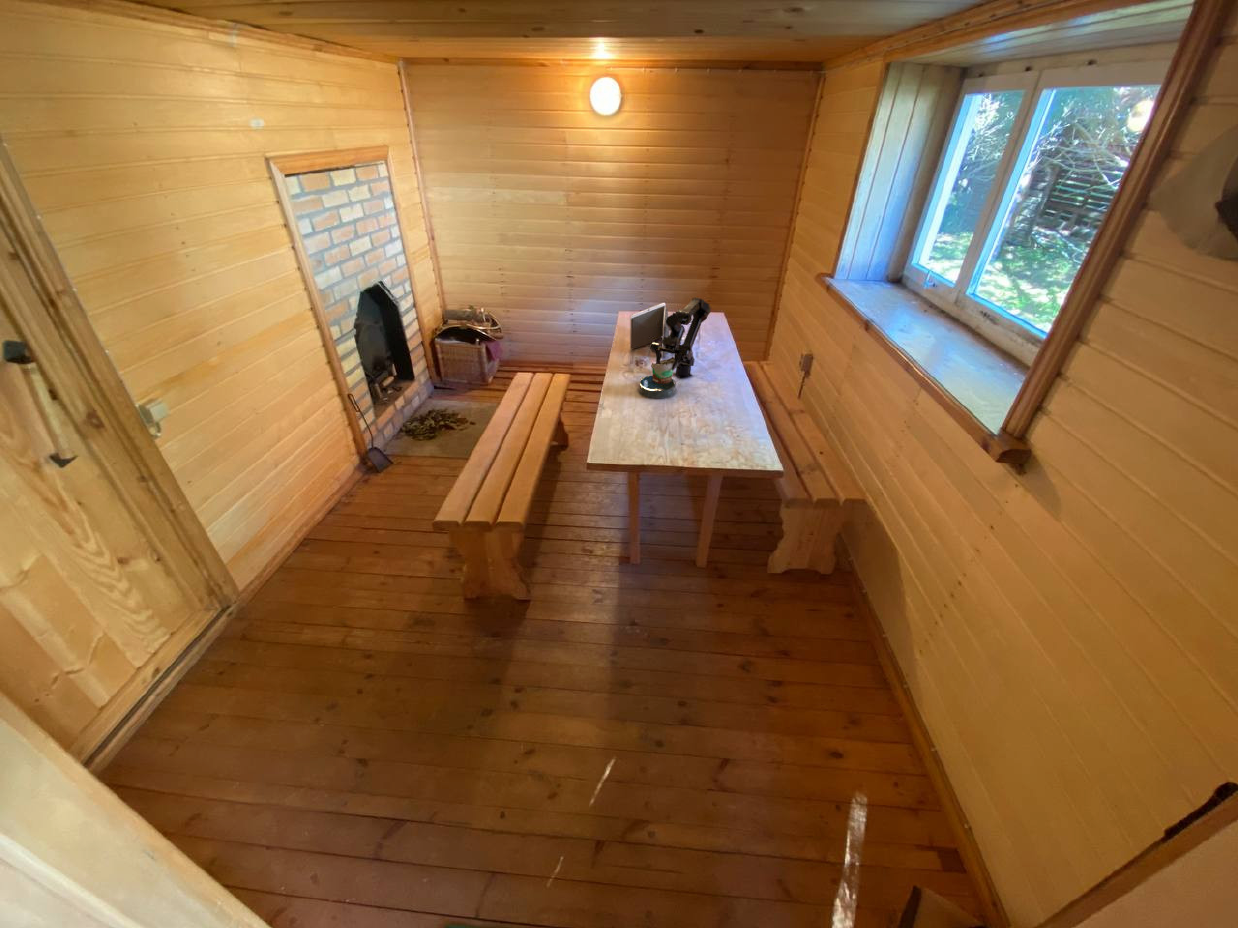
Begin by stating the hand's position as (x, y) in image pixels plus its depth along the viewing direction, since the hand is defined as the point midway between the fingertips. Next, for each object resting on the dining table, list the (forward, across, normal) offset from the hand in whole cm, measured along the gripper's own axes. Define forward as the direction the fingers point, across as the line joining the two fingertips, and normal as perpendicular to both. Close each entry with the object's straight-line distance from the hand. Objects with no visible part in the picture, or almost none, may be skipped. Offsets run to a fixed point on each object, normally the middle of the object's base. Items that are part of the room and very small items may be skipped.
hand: (664, 368), depth 230 cm
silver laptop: (-27, -31, +47) cm, 62 cm away
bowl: (+7, -4, +12) cm, 15 cm away
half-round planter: (+4, 0, +6) cm, 7 cm away
